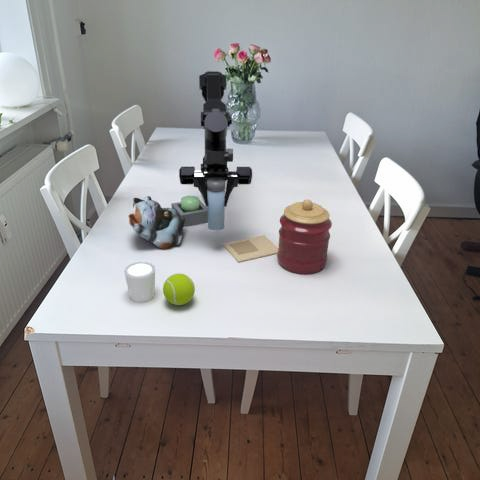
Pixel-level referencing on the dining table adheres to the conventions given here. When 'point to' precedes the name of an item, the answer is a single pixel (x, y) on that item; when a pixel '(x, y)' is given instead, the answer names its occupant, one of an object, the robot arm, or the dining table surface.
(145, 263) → the white cylinder
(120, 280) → the dining table surface
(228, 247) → the kraft sheet
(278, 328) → the dining table surface
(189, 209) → the button
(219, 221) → the water bottle
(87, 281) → the dining table surface
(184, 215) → the button box
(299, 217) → the canister
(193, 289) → the tennis ball
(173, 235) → the lucky cat figurine
